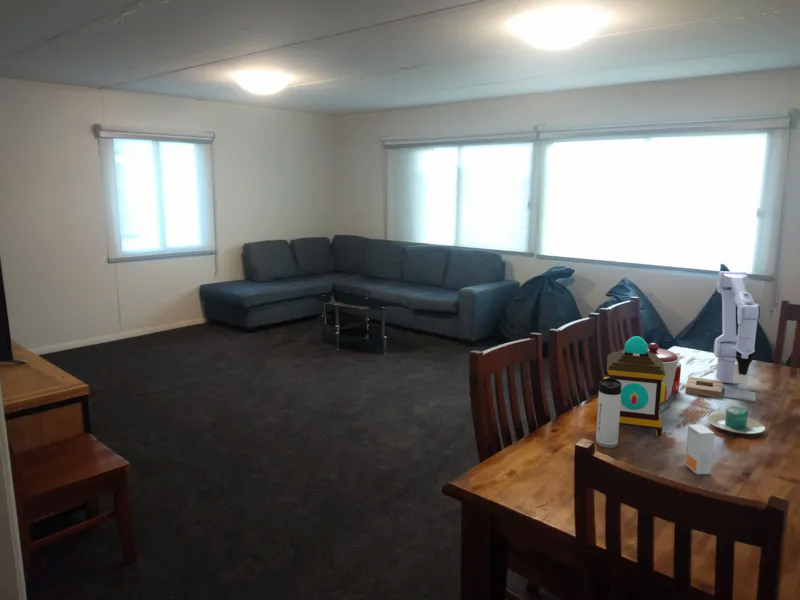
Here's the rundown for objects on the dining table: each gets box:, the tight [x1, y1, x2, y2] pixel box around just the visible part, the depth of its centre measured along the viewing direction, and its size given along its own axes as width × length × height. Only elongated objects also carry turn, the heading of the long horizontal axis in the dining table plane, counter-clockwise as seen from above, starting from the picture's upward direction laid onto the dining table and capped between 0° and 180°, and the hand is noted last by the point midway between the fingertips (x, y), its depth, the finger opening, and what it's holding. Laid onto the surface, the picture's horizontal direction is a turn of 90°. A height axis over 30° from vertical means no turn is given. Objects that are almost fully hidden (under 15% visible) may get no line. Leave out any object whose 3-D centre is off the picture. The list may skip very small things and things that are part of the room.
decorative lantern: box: [602, 335, 667, 438], centre depth 187 cm, size 20×20×30 cm
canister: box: [647, 342, 681, 403], centre depth 212 cm, size 18×18×21 cm
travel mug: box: [595, 378, 622, 449], centre depth 174 cm, size 6×7×20 cm
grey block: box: [733, 361, 750, 385], centre depth 214 cm, size 4×4×7 cm
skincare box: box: [684, 423, 715, 475], centre depth 158 cm, size 6×4×12 cm
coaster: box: [724, 388, 757, 403], centre depth 216 cm, size 10×10×1 cm
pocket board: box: [684, 376, 724, 399], centre depth 222 cm, size 14×12×2 cm
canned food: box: [671, 361, 682, 394], centre depth 221 cm, size 8×8×11 cm
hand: (742, 372), depth 214 cm, fingers closed on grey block, 4 cm apart
